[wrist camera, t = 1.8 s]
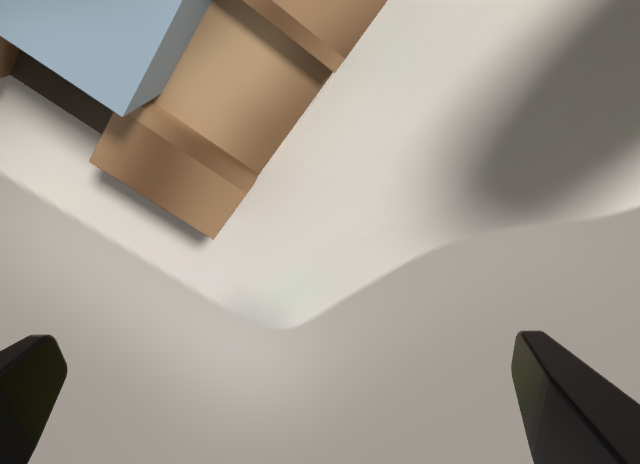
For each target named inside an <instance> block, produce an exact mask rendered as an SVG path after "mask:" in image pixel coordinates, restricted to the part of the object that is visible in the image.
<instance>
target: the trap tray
mask: <svg viewBox="0 0 640 464" xmlns="http://www.w3.org/2000/svg"><path fill="white" fill-rule="evenodd" d="M386 2H387V0H212V1H211V3H210V5H209V7H208V9H207V10H206V12H205V14H204V16H203V18H202V20H201V21H200V23H199V25H198V27H197V29H196V31H195V32H194V34H193V36H192V38H191V40H190V42H189V44H188V45H187V47H186V49H185V51H184V53H183V55H182V56H181V58H180V60H179V62H178V64H177V66H176V67H175V69H174V71H173V73H172V75H171V77H170V78H169V80H168V82H167V84H166V86H165V88H164V89H163V91H162V93H161V94H160V95H158V96H156V97H155V98H153V99H151V100H150V101H148V102H146V103H145V104H143V105H142V106H140V107H138V108H137V109H135V110H133V111H132V112H130V113H128V114H127V115H125V116H124V117H122V116H120V115H119V114H117V113H116V112H114V111H113V110H111V109H110V108H108V107H107V106H105V105H104V104H102V103H101V102H99V101H98V100H96V99H95V98H93V97H92V96H90V95H89V94H87V93H86V92H84V91H83V90H81V89H80V88H78V87H77V86H75V85H74V84H72V83H71V82H69V81H68V80H66V79H65V78H63V77H62V76H60V75H59V74H57V73H56V72H54V71H53V70H51V69H50V68H48V67H47V66H45V65H44V64H42V63H41V62H39V61H38V60H36V59H35V58H33V57H32V56H30V55H29V54H27V53H26V52H24V51H23V50H21V49H20V48H18V47H17V46H15V45H14V44H12V43H11V42H9V41H8V40H6V39H5V38H3V37H2V36H0V78H2V77H5V76H8V75H12V76H13V77H15V78H16V79H18V80H19V81H21V82H22V83H24V84H25V85H27V86H29V87H30V88H32V89H33V90H35V91H36V92H38V93H39V94H41V95H42V96H44V97H45V98H47V99H49V100H50V101H52V102H53V103H55V104H56V105H58V106H59V107H61V108H62V109H64V110H65V111H67V112H69V113H70V114H72V115H73V116H75V117H76V118H78V119H79V120H81V121H82V122H84V123H85V124H87V125H89V126H90V127H92V128H93V129H95V130H96V131H98V132H99V133H101V134H102V136H101V138H100V140H99V142H98V144H97V146H96V148H95V150H94V152H93V154H92V156H91V158H90V160H89V162H90V163H92V164H94V165H95V166H97V167H98V168H100V169H102V170H103V171H105V172H106V173H108V174H109V175H111V176H113V177H114V178H116V179H117V180H119V181H121V182H122V183H124V184H125V185H127V186H128V187H130V188H132V189H133V190H135V191H136V192H138V193H140V194H141V195H143V196H144V197H146V198H148V199H149V200H151V201H152V202H154V203H155V204H157V205H159V206H160V207H162V208H163V209H165V210H167V211H168V212H170V213H171V214H173V215H175V216H176V217H178V218H179V219H181V220H182V221H184V222H186V223H187V224H189V225H190V226H192V227H194V228H195V229H197V230H198V231H200V232H202V233H203V234H205V235H206V236H208V237H209V238H211V239H213V240H214V238H215V237H216V236H217V234H218V233H219V231H220V230H221V229H222V227H223V226H224V225H225V223H226V222H227V220H228V219H229V218H230V216H231V215H232V214H233V212H234V211H235V209H236V208H237V207H238V205H239V204H240V203H241V201H242V200H243V198H244V197H245V196H246V194H247V193H248V192H249V190H250V189H251V187H252V186H253V185H254V183H255V181H256V179H257V177H258V175H259V174H260V172H261V171H262V169H263V168H264V167H265V165H266V164H267V162H268V161H269V160H270V158H271V157H272V156H273V154H274V153H275V151H276V150H277V149H278V147H279V146H280V145H281V143H282V142H283V140H284V139H285V138H286V136H287V135H288V133H289V132H290V131H291V129H292V128H293V127H294V125H295V124H296V122H297V121H298V120H299V118H300V117H301V116H302V114H303V113H304V111H305V110H306V109H307V107H308V106H309V104H310V103H311V102H312V100H313V99H314V98H315V96H316V95H317V93H318V92H319V91H320V89H321V88H322V87H323V85H324V84H325V82H326V81H327V80H328V78H329V77H330V76H331V74H332V73H333V72H334V73H335V72H336V71H337V69H338V68H339V66H340V65H341V64H342V62H343V61H344V60H345V58H346V57H347V55H348V54H349V53H350V51H351V50H352V49H353V47H354V46H355V44H356V43H357V42H358V40H359V39H360V38H361V36H362V35H363V33H364V32H365V31H366V29H367V28H368V27H369V25H370V24H371V22H372V21H373V20H374V18H375V17H376V16H377V14H378V13H379V11H380V10H381V9H382V7H383V6H384V5H385V3H386Z"/></svg>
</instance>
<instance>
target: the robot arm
mask: <svg viewBox="0 0 640 464" xmlns="http://www.w3.org/2000/svg"><path fill="white" fill-rule="evenodd" d="M511 370H512V377H513V382H514V386H515V390H516V394H517V399H518V403H519V407H520V411H521V415H522V419H523V423H524V427H525V431H526V435H527V440H528V444H529V447H530V450H531V455H532V458H533V461H534V464H640V404H638V403H637V402H636V401H635V400H633V399H632V398H631V397H629V396H628V395H627V394H625V393H624V392H622V391H621V390H620V389H619V388H617V387H616V386H615V385H613V384H612V383H611V382H609V381H608V380H607V379H605V378H604V377H603V376H602V375H600V374H599V373H598V372H596V371H595V370H593V369H592V368H591V367H590V366H588V365H587V364H586V363H584V362H583V361H582V360H580V359H579V358H578V357H576V356H575V355H574V354H572V353H571V352H570V351H568V350H567V349H566V348H564V347H563V346H562V345H560V344H559V343H558V342H556V341H555V340H554V339H552V338H551V337H550V336H548V335H547V334H546V333H544V332H542V331H520V332H519V333H518V334H517V336H516V340H515V346H514V352H513V359H512V365H511ZM66 375H67V364H66V361H65V359H64V357H63V355H62V352H61V350H60V348H59V346H58V343H57V341H56V340H55V338H54V337H53V336H51V335H30V336H28V337H26V338H24V339H22V340H20V341H18V342H17V343H15V344H13V345H11V346H9V347H7V348H5V349H4V350H2V351H0V464H27V463H28V462H29V460H30V457H31V456H32V454H33V452H34V450H35V448H36V446H37V444H38V441H39V439H40V437H41V435H42V432H43V430H44V428H45V425H46V423H47V420H48V418H49V416H50V414H51V411H52V409H53V406H54V404H55V402H56V400H57V397H58V395H59V393H60V390H61V388H62V386H63V383H64V381H65V379H66Z"/></svg>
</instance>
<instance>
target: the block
mask: <svg viewBox="0 0 640 464" xmlns="http://www.w3.org/2000/svg"><path fill="white" fill-rule="evenodd" d="M211 1H212V0H0V36H2V37H3V38H5V39H6V40H8V41H9V42H11V43H12V44H14V45H15V46H17V47H18V48H20V49H21V50H23V51H24V52H26V53H27V54H29V55H30V56H32V57H33V58H35V59H36V60H38V61H39V62H41V63H42V64H44V65H45V66H47V67H48V68H50V69H51V70H53V71H54V72H56V73H57V74H59V75H60V76H62V77H63V78H65V79H66V80H68V81H69V82H71V83H72V84H74V85H75V86H77V87H78V88H80V89H81V90H83V91H84V92H86V93H87V94H89V95H90V96H92V97H93V98H95V99H96V100H98V101H99V102H101V103H102V104H104V105H105V106H107V107H108V108H110V109H111V110H113V111H114V112H116V113H117V114H119V115H120V116H122V117H124V116H125V115H127V114H128V113H130V112H132V111H133V110H135V109H137V108H138V107H140V106H142V105H143V104H145V103H146V102H148V101H150V100H151V99H153V98H155V97H156V96H158V95H160V94H161V93H162V91H163V89H164V88H165V86H166V84H167V82H168V80H169V78H170V77H171V75H172V73H173V71H174V69H175V67H176V66H177V64H178V62H179V60H180V58H181V56H182V55H183V53H184V51H185V49H186V47H187V45H188V44H189V42H190V40H191V38H192V36H193V34H194V32H195V31H196V29H197V27H198V25H199V23H200V21H201V20H202V18H203V16H204V14H205V12H206V10H207V9H208V7H209V5H210V3H211Z"/></svg>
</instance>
